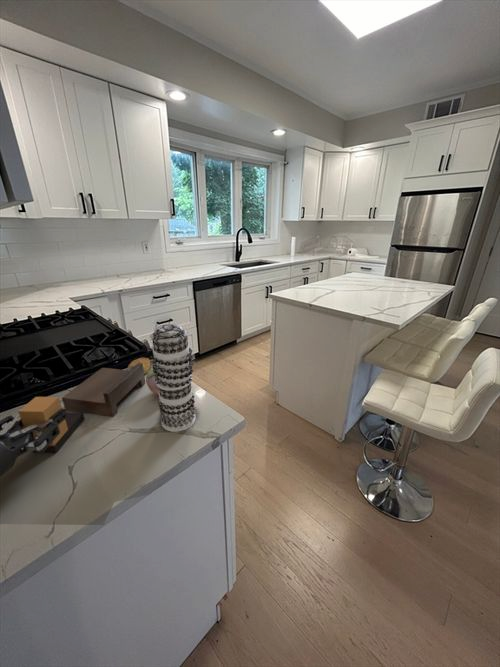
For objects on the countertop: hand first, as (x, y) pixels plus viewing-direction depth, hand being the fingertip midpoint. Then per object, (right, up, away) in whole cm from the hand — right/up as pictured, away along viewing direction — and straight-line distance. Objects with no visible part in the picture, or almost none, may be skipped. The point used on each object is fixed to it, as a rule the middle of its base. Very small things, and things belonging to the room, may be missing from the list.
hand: (52, 410), depth 61 cm
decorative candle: (+26, -5, +9) cm, 28 cm away
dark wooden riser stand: (+3, -1, +18) cm, 18 cm away
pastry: (+7, +5, +31) cm, 32 cm away
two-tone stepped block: (0, -7, +3) cm, 8 cm away
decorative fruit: (+19, -1, +19) cm, 27 cm away
